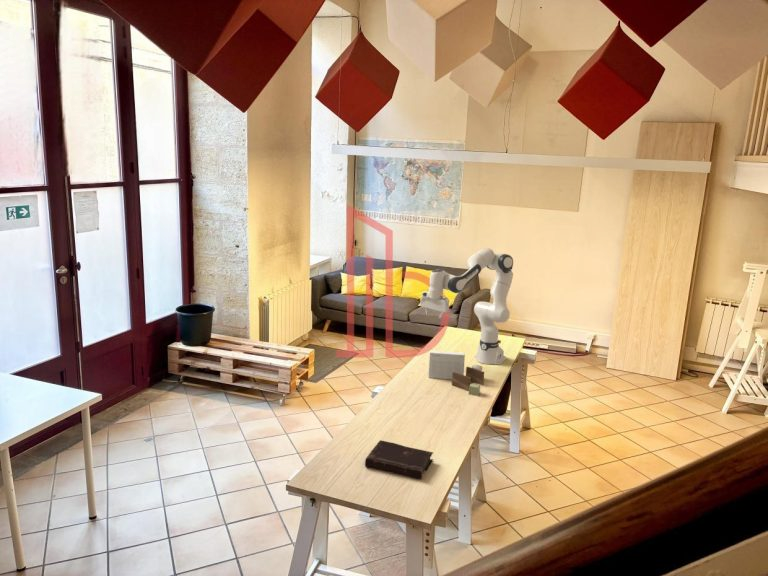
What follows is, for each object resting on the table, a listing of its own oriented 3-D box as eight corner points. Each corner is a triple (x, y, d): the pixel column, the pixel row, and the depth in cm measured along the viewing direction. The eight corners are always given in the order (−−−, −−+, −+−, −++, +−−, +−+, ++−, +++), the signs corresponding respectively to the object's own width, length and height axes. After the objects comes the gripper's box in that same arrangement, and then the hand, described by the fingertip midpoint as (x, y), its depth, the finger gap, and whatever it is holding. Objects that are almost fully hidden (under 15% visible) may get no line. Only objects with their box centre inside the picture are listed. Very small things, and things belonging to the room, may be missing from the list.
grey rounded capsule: (474, 376, 366) (475, 364, 365) (483, 379, 363) (484, 366, 361) (469, 379, 362) (470, 366, 360) (477, 381, 358) (478, 369, 356)
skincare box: (463, 377, 365) (465, 352, 361) (463, 380, 359) (465, 355, 356) (428, 374, 366) (430, 350, 363) (428, 378, 361) (429, 352, 358)
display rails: (466, 379, 362) (467, 366, 360) (483, 384, 354) (484, 371, 352) (451, 385, 351) (452, 372, 349) (468, 391, 343) (469, 378, 341)
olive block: (470, 391, 343) (471, 383, 342) (479, 393, 341) (480, 384, 340) (468, 394, 339) (469, 386, 338) (477, 396, 337) (478, 387, 336)
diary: (421, 481, 246) (421, 470, 245) (364, 469, 255) (365, 458, 254) (433, 460, 264) (433, 450, 262) (380, 449, 272) (380, 439, 271)
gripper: (452, 297, 367) (450, 319, 370) (425, 291, 380) (424, 312, 383) (446, 298, 363) (444, 320, 365) (419, 292, 376) (418, 313, 378)
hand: (433, 316), depth 374 cm, fingers open, 8 cm apart
